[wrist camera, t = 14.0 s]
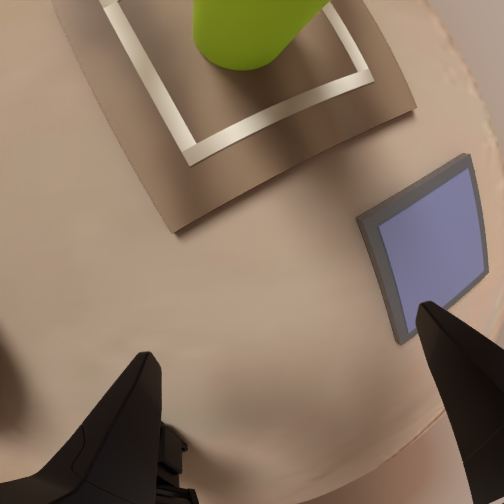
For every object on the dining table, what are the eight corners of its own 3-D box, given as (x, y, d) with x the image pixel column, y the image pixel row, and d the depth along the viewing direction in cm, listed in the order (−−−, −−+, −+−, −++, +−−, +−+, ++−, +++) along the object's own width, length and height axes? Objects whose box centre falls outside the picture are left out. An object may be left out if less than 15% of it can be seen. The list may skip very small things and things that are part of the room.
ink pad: (395, 340, 26) (401, 346, 25) (355, 218, 21) (363, 221, 20) (482, 269, 26) (489, 273, 25) (462, 153, 22) (471, 154, 20)
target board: (172, 230, 19) (171, 234, 18) (54, 4, 12) (50, 0, 12) (411, 108, 20) (418, 107, 19) (290, -81, 13) (294, -86, 12)
